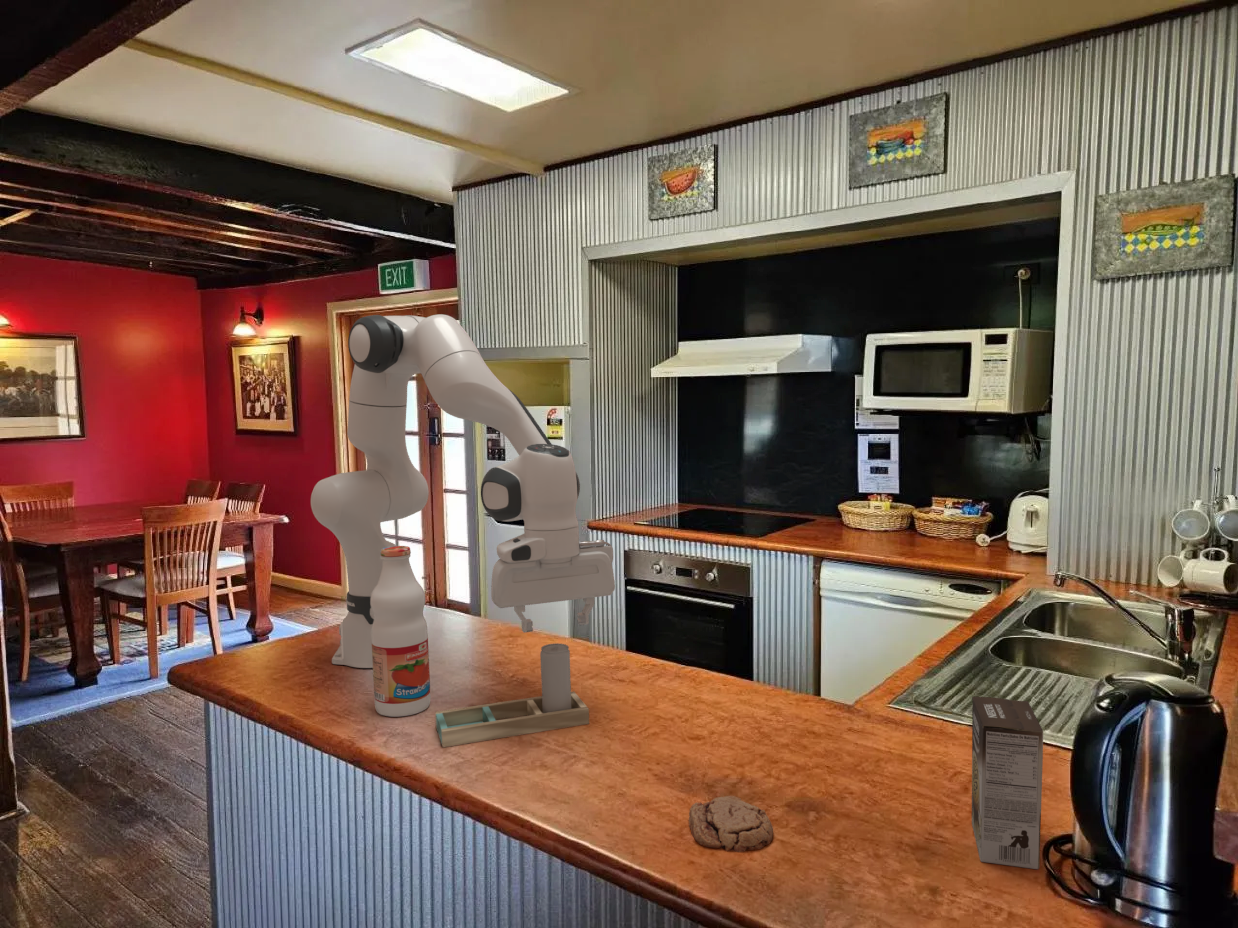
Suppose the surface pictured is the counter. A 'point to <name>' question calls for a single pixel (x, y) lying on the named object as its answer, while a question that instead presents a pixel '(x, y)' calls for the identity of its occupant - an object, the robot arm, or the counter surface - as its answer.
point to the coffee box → (1006, 781)
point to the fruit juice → (399, 638)
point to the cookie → (730, 824)
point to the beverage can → (555, 677)
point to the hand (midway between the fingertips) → (555, 627)
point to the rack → (505, 720)
